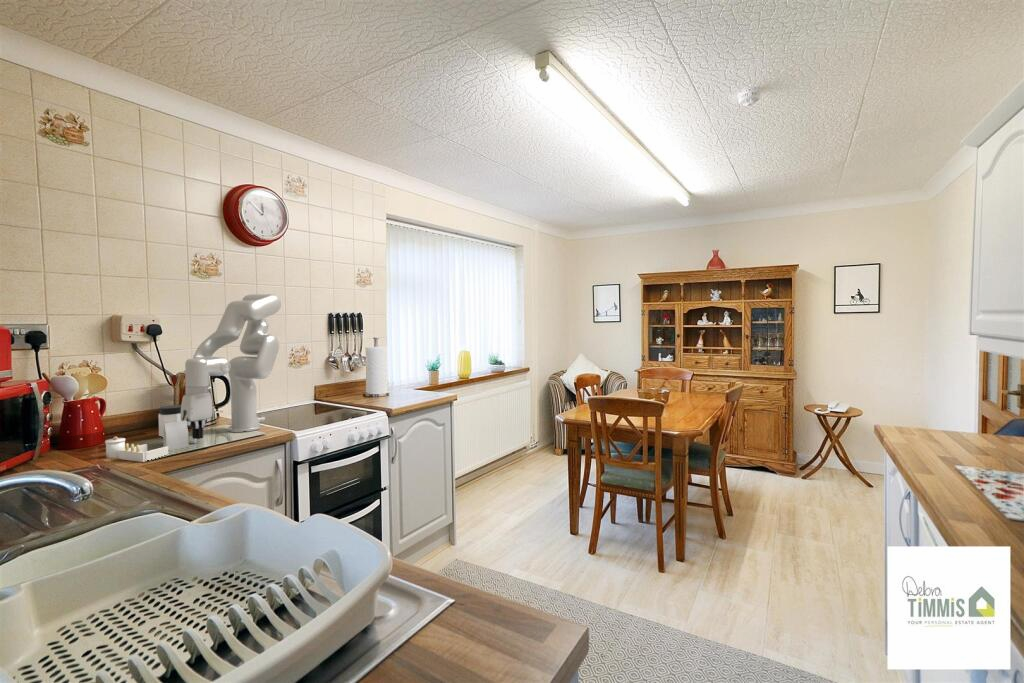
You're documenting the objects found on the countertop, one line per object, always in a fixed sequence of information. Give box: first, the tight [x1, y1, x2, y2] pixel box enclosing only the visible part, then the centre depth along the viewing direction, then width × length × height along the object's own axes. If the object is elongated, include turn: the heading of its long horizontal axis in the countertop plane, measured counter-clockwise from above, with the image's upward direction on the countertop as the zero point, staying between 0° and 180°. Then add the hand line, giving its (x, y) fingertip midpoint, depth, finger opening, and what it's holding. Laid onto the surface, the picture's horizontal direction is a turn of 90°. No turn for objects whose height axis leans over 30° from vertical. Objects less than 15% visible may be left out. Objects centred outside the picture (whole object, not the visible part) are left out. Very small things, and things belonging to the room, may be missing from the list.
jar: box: [158, 404, 182, 437], centre depth 191 cm, size 9×8×12 cm
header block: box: [118, 442, 169, 463], centre depth 161 cm, size 8×11×5 cm
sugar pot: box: [104, 436, 126, 459], centre depth 163 cm, size 5×5×7 cm
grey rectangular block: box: [162, 420, 190, 451], centre depth 172 cm, size 4×7×10 cm, turn 141°
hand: (197, 438), depth 180 cm, fingers closed
